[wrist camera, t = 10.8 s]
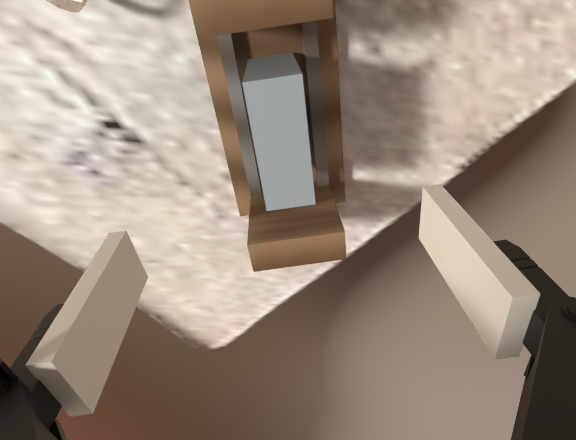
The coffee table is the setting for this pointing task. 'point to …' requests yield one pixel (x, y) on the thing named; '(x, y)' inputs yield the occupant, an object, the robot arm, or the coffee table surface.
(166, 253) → the coffee table surface
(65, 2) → the cup
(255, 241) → the wooden u-shaped holder
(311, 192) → the gray rectangular block
